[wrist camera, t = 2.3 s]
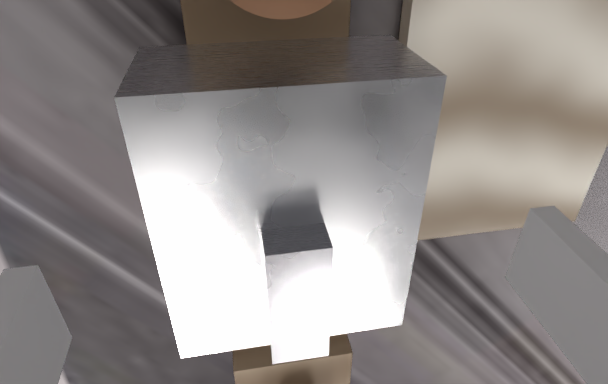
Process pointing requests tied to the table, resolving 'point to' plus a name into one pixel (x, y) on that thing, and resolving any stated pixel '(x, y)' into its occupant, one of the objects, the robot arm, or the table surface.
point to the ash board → (511, 107)
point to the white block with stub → (281, 185)
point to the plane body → (266, 27)
